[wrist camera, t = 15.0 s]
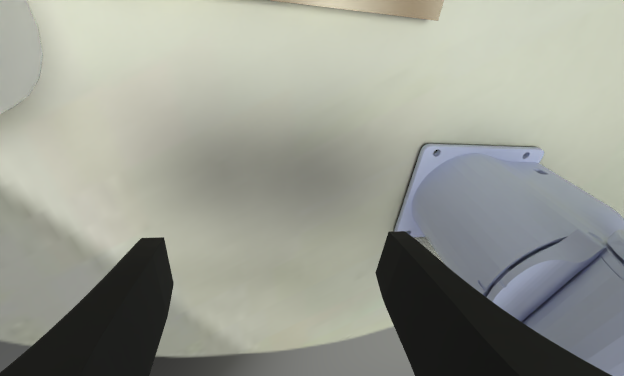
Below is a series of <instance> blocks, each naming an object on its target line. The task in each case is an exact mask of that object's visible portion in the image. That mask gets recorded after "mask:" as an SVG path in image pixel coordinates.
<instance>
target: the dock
mask: <svg viewBox="0 0 624 376" xmlns="http://www.w3.org/2000/svg"><path fill="white" fill-rule="evenodd" d="M272 1H280V2H288V3H296V4H305V5H313V6H321V7H329V8H338V9H346V10H354V11H362V12H371V13H379V14H387V15H395V16H404V17H412V18H420V19H428V20H436V21H438V19H439V16H440V12H441V9H442V5H443V2H444V0H272Z"/></svg>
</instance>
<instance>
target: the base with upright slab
mask: <svg viewBox="0 0 624 376" xmlns="http://www.w3.org/2000/svg"><path fill="white" fill-rule="evenodd" d="M42 57H43V53H42V47H41V41H40V35H39V29H38V26H37V24H36V21H35V19H34V17H33V14H32V12H31V10H30V7H29V5H28V3H27V0H0V114H1V113H3V112H5V111H7V110H9V109H11V108H13V107H14V106H15V105H17V104H18V103H19V102H21V101H22V100H24V99H25V98H26V97H28V96H29V94H30V93H31V91H32V89H33V88H34V86H35V84H36V83H37V81H38V79H39V77H40V71H41V64H42Z"/></svg>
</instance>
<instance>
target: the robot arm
mask: <svg viewBox="0 0 624 376" xmlns="http://www.w3.org/2000/svg"><path fill="white" fill-rule="evenodd" d="M435 150H438V151H437V152H436V153H435V154H433V153H434V151H435ZM543 155H544V151H543V150H542V149H540V148H538V147H510V146H481V145H452V144H426V145H425V146H423V147H422V149H421V151H420V154H419V157H418V160H417V163H416V166H415V169H414V172H413V175H412V178H411V181H410V184H409V188H408V191H407V194H406V197H405V200H404V203H403V206H402V209H401V212H400V215H399V218H398V221H397V224H396V227H395V230H394V232H389V233H388V236H387V239H386V242H385V245H384V248H383V251H382V255H381V258H380V261H379V264H378V267H377V270H376V276H377V280H378V283H379V287H380V291H381V294H382V297H383V300H384V303H385V305H386V308H387V310H388V313H389V315H390V317H391V320H392V322H393V324H394V327H395V329H396V331H397V334H398V336H399V338H400V341H401V343H402V345H403V348H404V350H405V352H406V354H407V357H408V359H409V362H410V364H411V367H412V369H413V372H414V374H415V376H624V219H623V218H622V216H621V215H620V214H619V213H618V212H616V211H615V210H614V209H613V208H611V207H610V206H608V205H607V204H605V203H603V202H602V201H600V200H598V199H597V198H595V197H593V196H592V195H590V194H589V193H587V192H585V191H584V190H582V189H580V188H579V187H577V186H575V185H574V184H572V183H571V182H569V181H567V180H566V179H564V178H562V177H561V176H559V175H557V174H556V173H554V172H553V171H551V170H549V169H548V168H546V167H544V166H543V165H541V164H539V162H540V161H541V159H542V157H543ZM406 231H407V232H406ZM413 237H426V238H427V239H428V241H429V242H430V244H431V245H432V247H433V248H434V249H435V251H436V252H437V254H438V255H439V257H440V258H441V260H442V261H443V262H444V263H443V262H441V261H440V260H439V259H438V258H437V257H436V256H434V255H433V254H432V253H431V252H430V251H428V250H427V249H426V248H425V247H424V246H423V245H421V244H420V243H419V242H418V241H417V240H415V239H414V238H413ZM172 289H173V279H172V274H171V269H170V264H169V260H168V255H167V250H166V245H165V240H164V238H141V239H140V240H139V241H138V242H137V243H136V244H135V245H134V246H133V247H132V248H131V250H130V251H129V252H128V253H127V254H126V255H125V256H124V257H123V258H122V259H121V260H120V261H119V262H118V263H117V265H116V266H115V267H114V268H113V269H112V270H111V271H110V272H109V273H108V274H107V275H106V276H105V277H104V278H103V279H102V280H101V281H100V282H99V283H98V284H97V285H96V286H95V287H94V288H93V289H92V290H91V291H90V292H89V293H88V294H87V295H86V296H85V297H84V298H83V299H82V300H81V301H80V302H79V303H78V304H77V305H76V306H75V307H74V308H73V309H72V310H71V311H70V312H69V313H68V314H67V315H65V316H64V317H63V318H62V319H61V320H60V321H59V322H58V323H57V324H56V325H55V326H54V327H53V328H52V329H50V330H49V331H48V332H47V333H46V334H45V335H44V336H43V337H42V338H40V339H39V340H38V341H37V342H36V343H35V344H34V345H33V346H31V347H30V348H29V349H28V350H27V351H26V352H25V353H23V354H22V355H21V356H20V357H19V358H17V359H16V360H15V361H14V362H13V363H11V364H10V365H9V366H8V367H7V368H5V369H4V370H3V371H2V372H1V373H0V376H149V374H150V371H151V367H152V365H153V361H154V358H155V355H156V352H157V349H158V345H159V342H160V339H161V336H162V332H163V329H164V326H165V323H166V319H167V316H168V311H169V306H170V301H171V295H172Z"/></svg>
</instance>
